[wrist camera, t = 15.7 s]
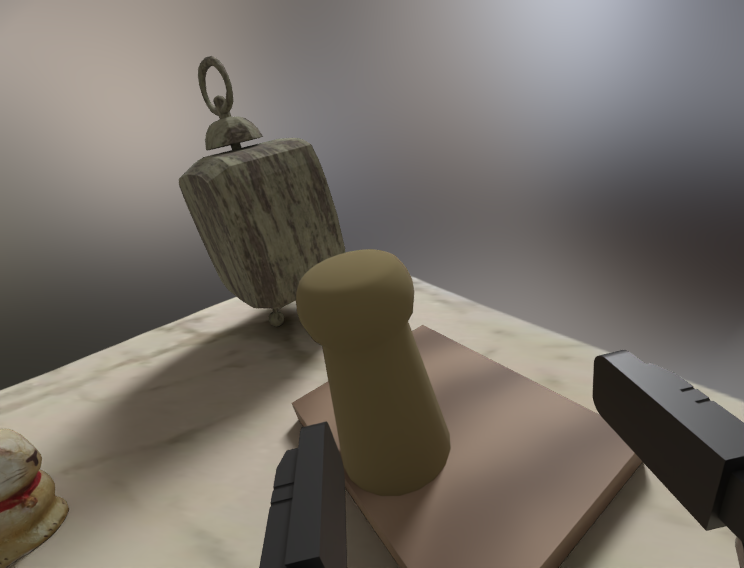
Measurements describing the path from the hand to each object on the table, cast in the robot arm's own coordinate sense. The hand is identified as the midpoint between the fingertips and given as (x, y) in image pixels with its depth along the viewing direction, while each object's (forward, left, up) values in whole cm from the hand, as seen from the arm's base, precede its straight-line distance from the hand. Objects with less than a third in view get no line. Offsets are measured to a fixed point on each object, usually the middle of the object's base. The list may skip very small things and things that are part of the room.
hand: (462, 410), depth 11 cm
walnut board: (+7, +3, -9) cm, 12 cm away
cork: (+5, +5, -8) cm, 11 cm away
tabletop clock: (+20, +22, -10) cm, 31 cm away
